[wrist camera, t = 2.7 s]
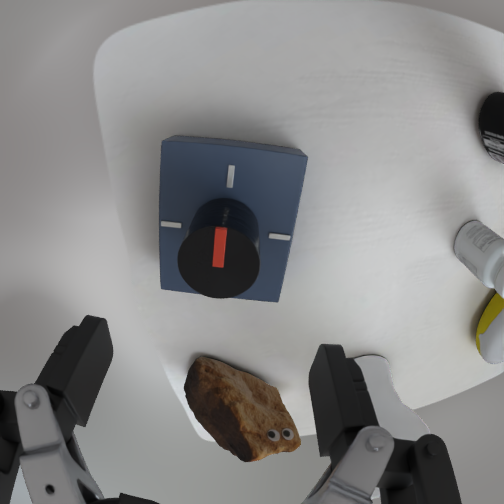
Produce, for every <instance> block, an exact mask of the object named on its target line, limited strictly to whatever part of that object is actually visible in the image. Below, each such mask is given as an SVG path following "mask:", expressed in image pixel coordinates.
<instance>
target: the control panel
mask: <svg viewBox="0 0 504 504" xmlns="http://www.w3.org/2000/svg"><path fill="white" fill-rule="evenodd" d="M307 160H308V157H307V156H306V155H305V154H304V153H303V152H302V151H301V150H300V149H295V148H288V147H282V146H275V145H268V144H261V143H253V142H245V141H236V140H226V139H216V138H204V137H191V136H172V137H170V138H167V139H165V140H163V141H162V145H161V164H160V193H159V252H160V282H161V289H164V290H172V291H179V292H187V293H195V294H200V293H198V292H196V291H195V290H193V289H192V288H191V287H190V286H189V285H188V284H187V283H186V282H185V281H184V279H183V278H182V276H181V274H180V272H179V269H178V264H177V256H178V251H179V248H180V246H181V244H182V241H183V239H184V237H185V235H186V233H187V231H188V228H189V226H190V224H191V222H192V220H193V218H194V216H195V214H196V212H197V211H198V210H199V208H200V207H202V206H203V205H204V204H205V203H207V202H209V201H211V200H214V199H219V198H230V199H234V200H237V201H240V202H242V203H243V204H245V205H246V206H247V207H249V208H250V209H251V210H252V212H253V213H254V215H255V217H256V219H257V221H258V226H259V242H260V260H261V267H260V272H259V275H258V278H257V280H256V281H255V283H254V284H253V285H252V286H251V287H250V288H249V289H248V290H247V291H245V292H244V293H242V294H240V295H237V296H235V297H231V298H238V299H248V300H258V301H268V302H278V301H279V297H280V293H281V288H282V284H283V279H284V275H285V270H286V266H287V261H288V256H289V252H290V247H291V242H292V237H293V232H294V227H295V222H296V217H297V212H298V207H299V202H300V197H301V192H302V187H303V181H304V176H305V171H306V165H307Z"/></svg>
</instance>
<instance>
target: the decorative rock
mask: <svg viewBox="0 0 504 504" xmlns="http://www.w3.org/2000/svg"><path fill="white" fill-rule="evenodd" d="M184 391H185V393H186V399H187V402H188V405H189V407H190V409H191V410H192V411H193V412H194V415H195V418H196V419H197V421H198V422H199V423H200V424H201V425H202V426H203V428H204V429H205V430H206V431H207V432H208V433H209V434H210V435H211V436H212V437H213V438H214V439H215V441H216V442H217V443H218V445H219V446H221V447H222V448H223V449H225V450H229V451H230V452H231V453H232V454H233V455H235V456H237V457H238V458H239V459H240V460H242V461H244V462H252V461H257V460H260V459H263V458H265V457H266V456H268V455H271V454H277V453H279V452H292V451H294V450H296V449H297V448H298V447H299V446H300V445H301V440H300V437H299V434H298V431H297V428H296V426H295V424H294V421H293V419H292V418H291V416H290V414H289V412H288V411H287V410H286V408H285V405H284V404H283V403H282V400H281V397H280V394H279V392H278V389H277V388H276V387H273V386H270V385H268V384H267V383H265V382H264V381H263V380H261V379H258V378H257V377H255V376H253V375H251V374H249V373H247V372H243V371H238V370H236V369H234V368H232V367H231V366H229V365H227V364H225V363H223V362H221V361H217V360H215V359H210V358H207V357H199V358H198V359H196V360H195V362H194V363H193V365H192V366H191V368H190V369H189V371H188V375H187V378H186V382H185V384H184Z"/></svg>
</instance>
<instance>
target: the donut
mask: <svg viewBox="0 0 504 504" xmlns="http://www.w3.org/2000/svg"><path fill="white" fill-rule="evenodd" d="M476 345H477V349H478V351H479V353H480V355H481V356H482V358H483V359H484V360H485V361H486V362H488V363H490V364H497V363H501V362H504V299H503V298H502V297H501V296H500V295H499V294H498V293H496V294H495V295H494V297H493V298H492V299H491V301H490V302H489V304H488V305H487V307H486V309H485V311H484V313H483V314H482V316H481V319H480V321H479V324H478V327H477V332H476Z"/></svg>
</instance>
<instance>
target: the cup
mask: <svg viewBox="0 0 504 504" xmlns="http://www.w3.org/2000/svg"><path fill="white" fill-rule="evenodd" d="M354 360H355V362H356V363H357V364H358V365H359V366H360V368H361V370H362V373H363V376H364V379H365V380H364V381H365V382H366V385H367V388H368V389H367V391H369V394H370V397H371V400H372V404H373V407H374V410H375V413H376V416H377V420H378V423H379V425H380V427H382V428H384V429H386V430H387V431H388V432H389V433H390V434H391V436H392V437H394V438H397V439H404V440H411V441H417V440H418V439H419V438H420V437H421V436H423V435H425V434H431V433H430V430H429V427H428V426H427V425H426V424H425V422H424V421H423V420H422V419H421V418H420V416H419V415H418V414H417V413H416V412H414V411H413V410H412V409H410V408H409V407H408V406H406V405H405V404H403V403H402V401H401V399H400V397H399V396H398V394H397V392H396V391H395V389H394V385H393V379H392V374H391V370H390V366H389V363H388V361H387V360H386V359H385V358H383V357H381V356H375V355H369V356H362V357H359V358H355V359H354ZM330 464H331V460H330ZM378 497H380V490H379V488H378V487H376V488H375V490H374V492H373V494H372V496H371V499H374V498H378Z"/></svg>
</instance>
